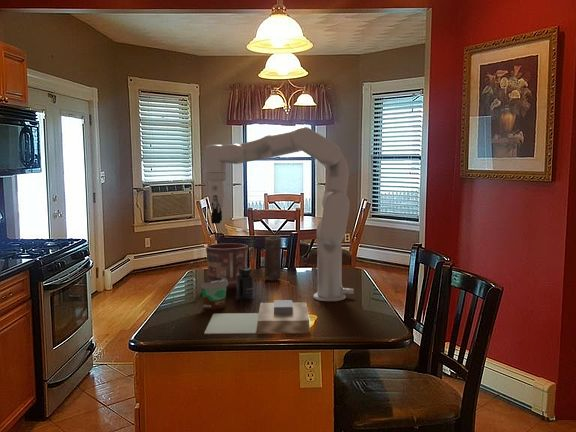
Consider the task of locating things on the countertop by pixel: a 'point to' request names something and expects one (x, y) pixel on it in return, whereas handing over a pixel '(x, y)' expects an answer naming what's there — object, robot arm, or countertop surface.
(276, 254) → the candle
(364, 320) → the countertop surface
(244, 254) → the pottery
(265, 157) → the robot arm
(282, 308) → the grey flat block
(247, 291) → the supplement bottle
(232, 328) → the mat
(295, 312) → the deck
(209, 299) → the food container
